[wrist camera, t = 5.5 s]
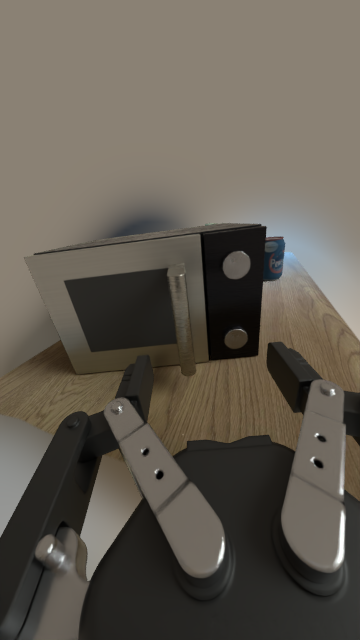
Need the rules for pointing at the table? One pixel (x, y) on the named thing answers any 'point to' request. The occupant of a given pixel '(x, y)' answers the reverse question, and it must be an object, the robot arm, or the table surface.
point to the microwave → (221, 282)
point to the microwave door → (127, 303)
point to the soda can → (273, 258)
